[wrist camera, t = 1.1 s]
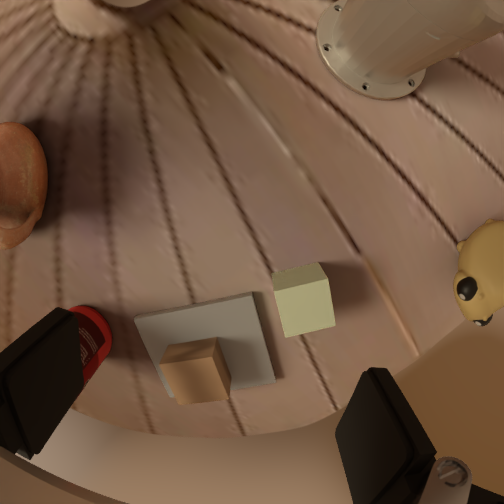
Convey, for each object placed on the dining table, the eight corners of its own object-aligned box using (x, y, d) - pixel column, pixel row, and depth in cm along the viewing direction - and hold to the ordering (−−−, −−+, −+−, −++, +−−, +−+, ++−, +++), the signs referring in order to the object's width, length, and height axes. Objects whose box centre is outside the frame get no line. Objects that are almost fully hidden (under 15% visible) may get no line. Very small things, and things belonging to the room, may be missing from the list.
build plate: (252, 291, 33) (251, 295, 32) (275, 377, 36) (276, 382, 35) (136, 315, 34) (133, 319, 33) (171, 392, 37) (170, 397, 36)
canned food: (70, 349, 36) (29, 395, 26) (62, 298, 34) (11, 338, 24) (117, 362, 36) (82, 416, 26) (112, 309, 34) (67, 358, 24)
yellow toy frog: (419, 261, 32) (471, 297, 22) (482, 197, 30) (542, 212, 19) (450, 314, 34) (494, 356, 23) (506, 255, 31) (557, 281, 21)
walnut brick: (216, 336, 34) (212, 356, 30) (231, 377, 35) (228, 399, 31) (168, 344, 34) (158, 364, 30) (185, 383, 36) (179, 404, 32)
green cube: (317, 261, 32) (327, 278, 27) (325, 303, 33) (335, 325, 29) (271, 273, 33) (273, 291, 28) (281, 314, 34) (285, 337, 29)
